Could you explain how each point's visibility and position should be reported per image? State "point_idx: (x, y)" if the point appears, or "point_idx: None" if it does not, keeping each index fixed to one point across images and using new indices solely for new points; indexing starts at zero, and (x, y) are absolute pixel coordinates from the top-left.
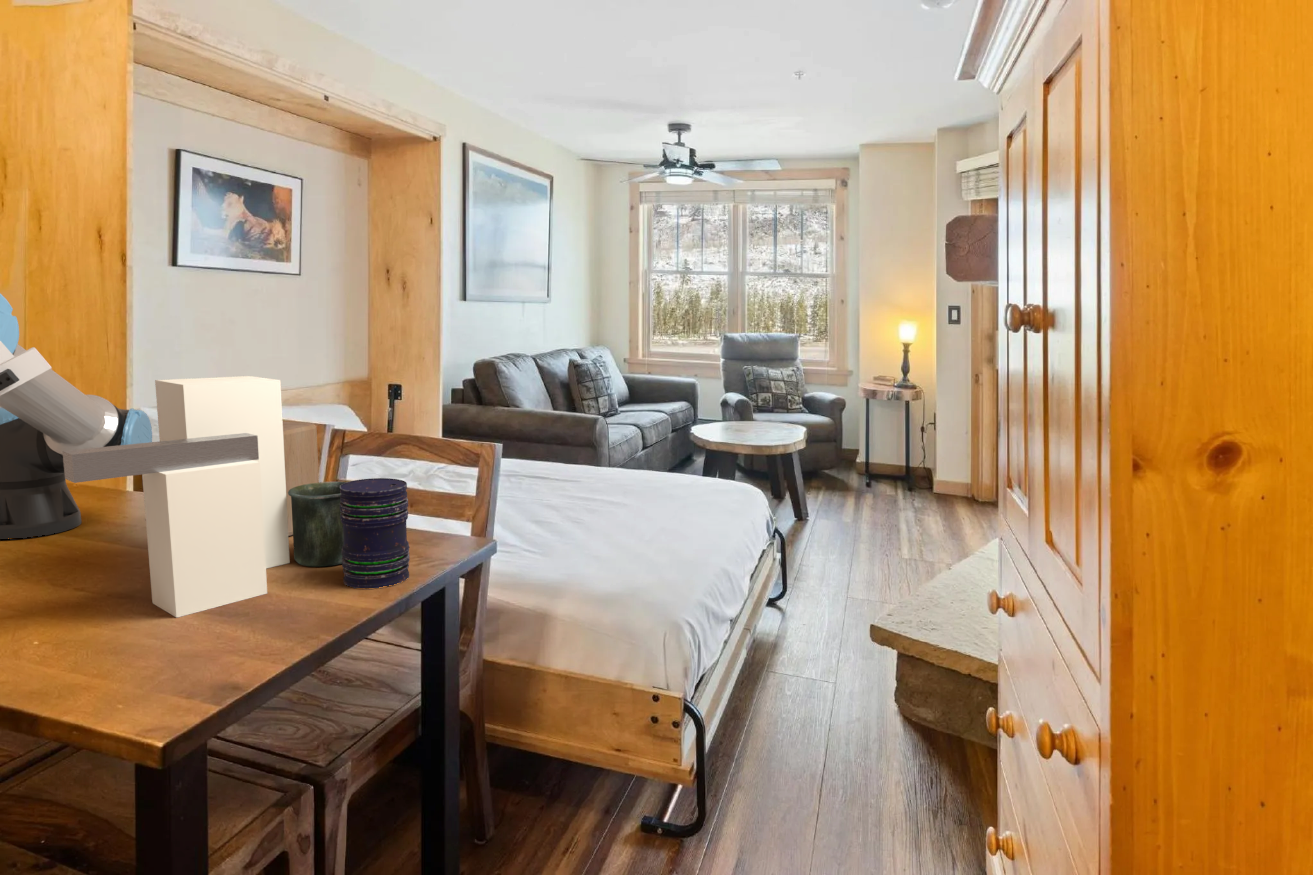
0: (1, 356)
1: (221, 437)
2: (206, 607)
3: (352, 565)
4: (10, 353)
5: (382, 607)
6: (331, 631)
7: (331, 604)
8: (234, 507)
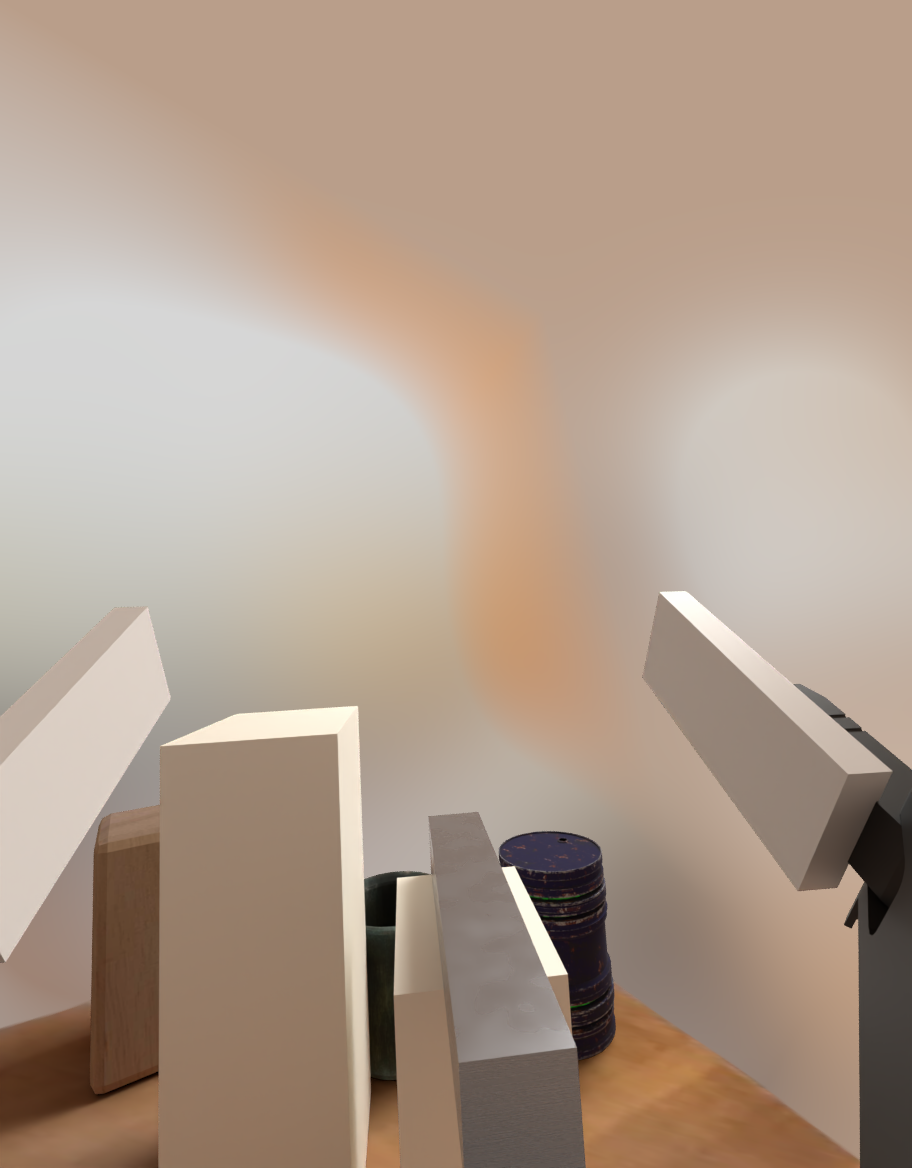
0: (142, 687)
1: (463, 835)
2: None
3: (588, 1011)
4: (162, 670)
5: (714, 1055)
6: (825, 1155)
7: (665, 1109)
8: None
